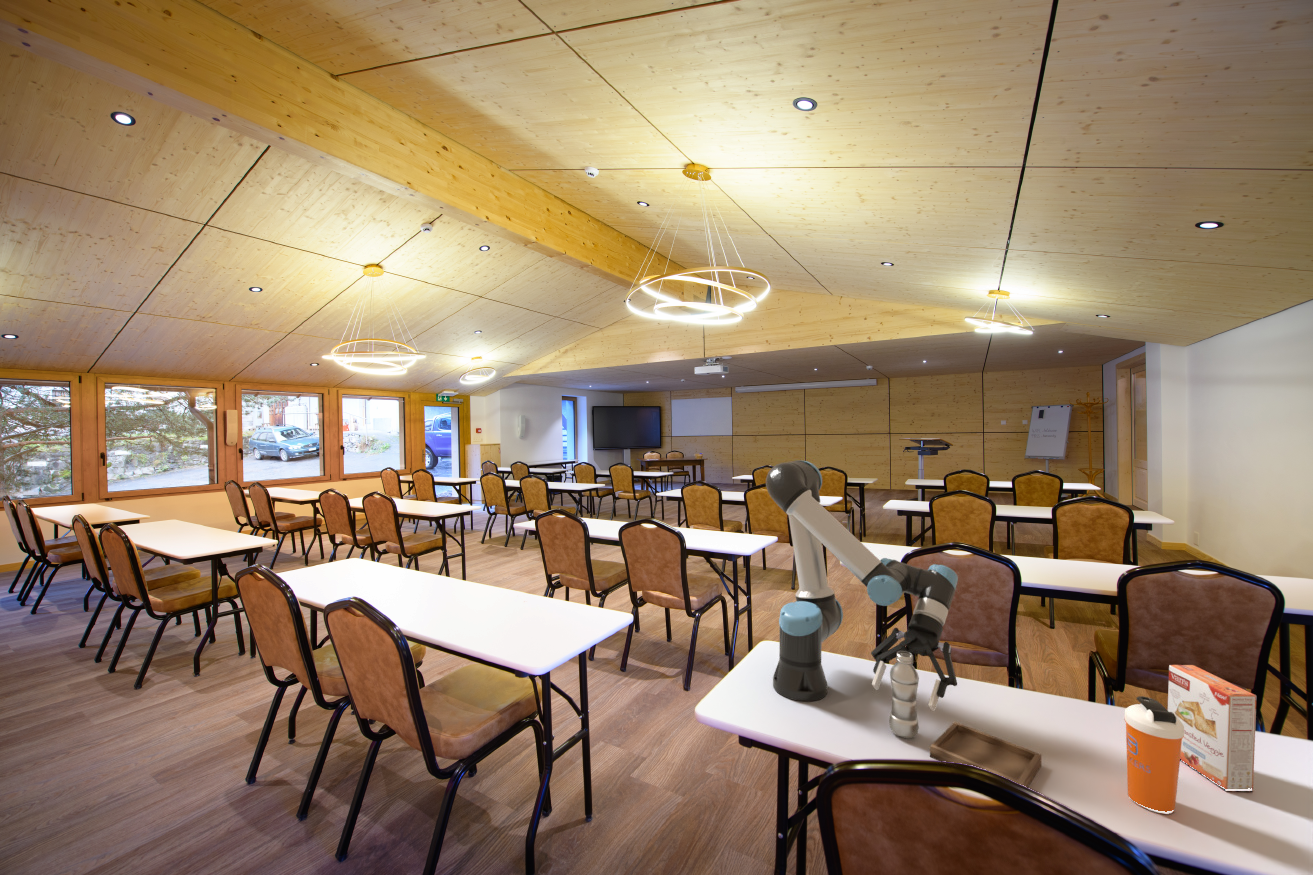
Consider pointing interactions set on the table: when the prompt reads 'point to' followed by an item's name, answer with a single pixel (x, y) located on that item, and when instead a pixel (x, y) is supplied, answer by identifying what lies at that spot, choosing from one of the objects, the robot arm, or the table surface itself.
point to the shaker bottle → (1153, 754)
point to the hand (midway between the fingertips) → (901, 697)
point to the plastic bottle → (904, 696)
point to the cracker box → (1214, 725)
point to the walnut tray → (986, 753)
